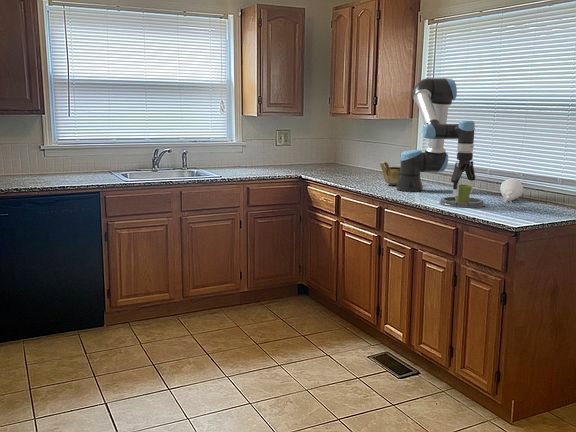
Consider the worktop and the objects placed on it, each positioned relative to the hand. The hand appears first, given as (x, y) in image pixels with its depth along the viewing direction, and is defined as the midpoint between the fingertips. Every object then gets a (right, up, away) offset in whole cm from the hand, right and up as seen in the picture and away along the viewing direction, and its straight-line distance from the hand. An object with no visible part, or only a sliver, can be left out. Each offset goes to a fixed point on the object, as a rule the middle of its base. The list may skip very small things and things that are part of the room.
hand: (462, 194), depth 298 cm
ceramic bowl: (-21, +8, +71) cm, 74 cm away
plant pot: (0, -4, +1) cm, 4 cm away
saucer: (0, -5, +1) cm, 5 cm away
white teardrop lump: (+27, -3, +14) cm, 31 cm away
